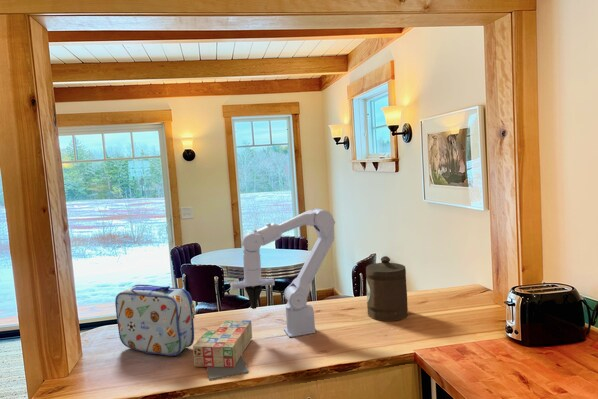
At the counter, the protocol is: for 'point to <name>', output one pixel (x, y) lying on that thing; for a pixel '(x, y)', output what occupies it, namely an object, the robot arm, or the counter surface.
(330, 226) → the robot arm
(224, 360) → the stack of blocks
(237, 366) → the mat
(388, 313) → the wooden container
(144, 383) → the counter surface
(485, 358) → the counter surface
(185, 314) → the lunch box
